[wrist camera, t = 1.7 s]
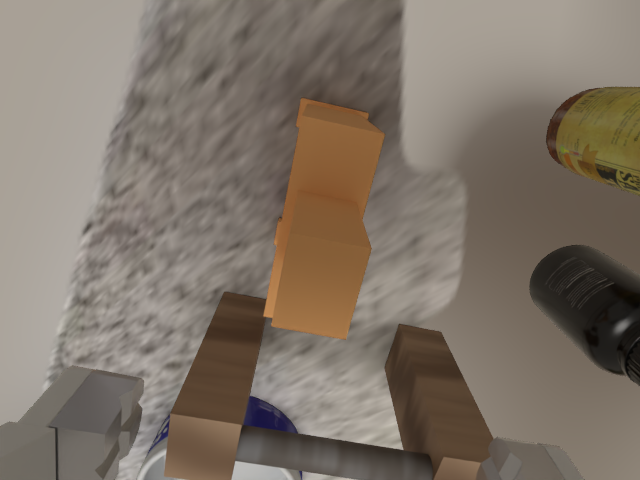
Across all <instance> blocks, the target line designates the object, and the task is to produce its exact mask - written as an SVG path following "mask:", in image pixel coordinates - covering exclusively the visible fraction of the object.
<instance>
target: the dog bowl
mask: <svg viewBox="0 0 640 480" xmlns="http://www.w3.org/2000/svg"><path fill="white" fill-rule="evenodd" d="M169 422H170V415H169V416H168V417H167V419H166V420H165V421H164V423H163V425H162V427H161V429H160V430H159V432H158V434H157V436H156V438H155V440H154V442H153V444H152V446H151V448H150V450H149V452H148V454H147V456H146V458H145V460H144V462H143V464H142V466H141V468H140V471H139V473H138V476H137V478H136V480H185V479H178V478H171V477H164V470H165V460H166V451H167V441H168V432H169ZM243 425H247V426H254V427H260V428H266V429H273V430H279V431H285V432H292V433H298V432H297V430H296V428H295V427H294V425H293V424H292V422H291V421H290V420H289V419H288V418H287V417H286V416H285V415H284V414H283V413H282V412H280V411H279V410H278V409H276V408H275V407H273V406H272V405H270V404H268V403H266V402H264V401H262V400H260V399H257V398H254V397H251V396H249V401H248V406H247V410H246V415H245V419H244V424H243ZM231 480H302V471H298V470H291V469H285V468H278V467H271V466H265V465H258V464H252V463H245V462H238V461H235V465H234V470H233V475H232V479H231Z"/></svg>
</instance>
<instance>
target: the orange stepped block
mask: <svg viewBox="0 0 640 480" xmlns="http://www.w3.org/2000/svg"><path fill="white" fill-rule="evenodd" d="M368 116H369V113H367V112H362V111H358V110H354V109H349V108H345V107H340V106H336V105H332V104H327V103H323V102H318V101H314V100H310V99H305V98H301V102H300V107H299V112H298V118H297V123H296V127H299V132H298V137H297V143H296V148H295V153H294V158H293V164H292V169H291V174H290V179H289V184H288V190H287V195H286V200H285V205H284V211H283V216H282V218H279V220H278V224H277V229H276V235H275V240H274V245H277V247H276V252H275V258H274V263H273V268H272V273H271V279H270V284H269V289H268V294H267V299H266V305H265V310H264V315H263V316H264V317H270V318H273V319H272V324H271V326H272V327H277V328H283V329H289V330H294V331H300V332H305V333H311V334H316V335H322V336H328V337H333V338H339V339H344V340H346V337H347V334H348V330H349V326H350V323H351V319H352V316H353V312H354V309H355V305H356V302H357V298H358V295H359V291H360V288H361V284H362V281H363V277H364V274H365V270H366V267H367V263H368V260H369V256H370V253H371V249H372V248H371V245H370V242H369V239H368V236H367V233H366V230H365V227H364V224H363V220H362V219H363V215H364V212H365V208H366V204H367V200H368V197H369V193H370V189H371V185H372V182H373V178H374V174H375V170H376V167H377V163H378V159H379V156H380V152H381V148H382V144H383V141H384V137H385V134H384V133H383V132H382V131H380V130H379V129H378V128H377V127H375V126H374V125H373V124H371V123H370V122H369V121H368Z"/></svg>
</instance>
